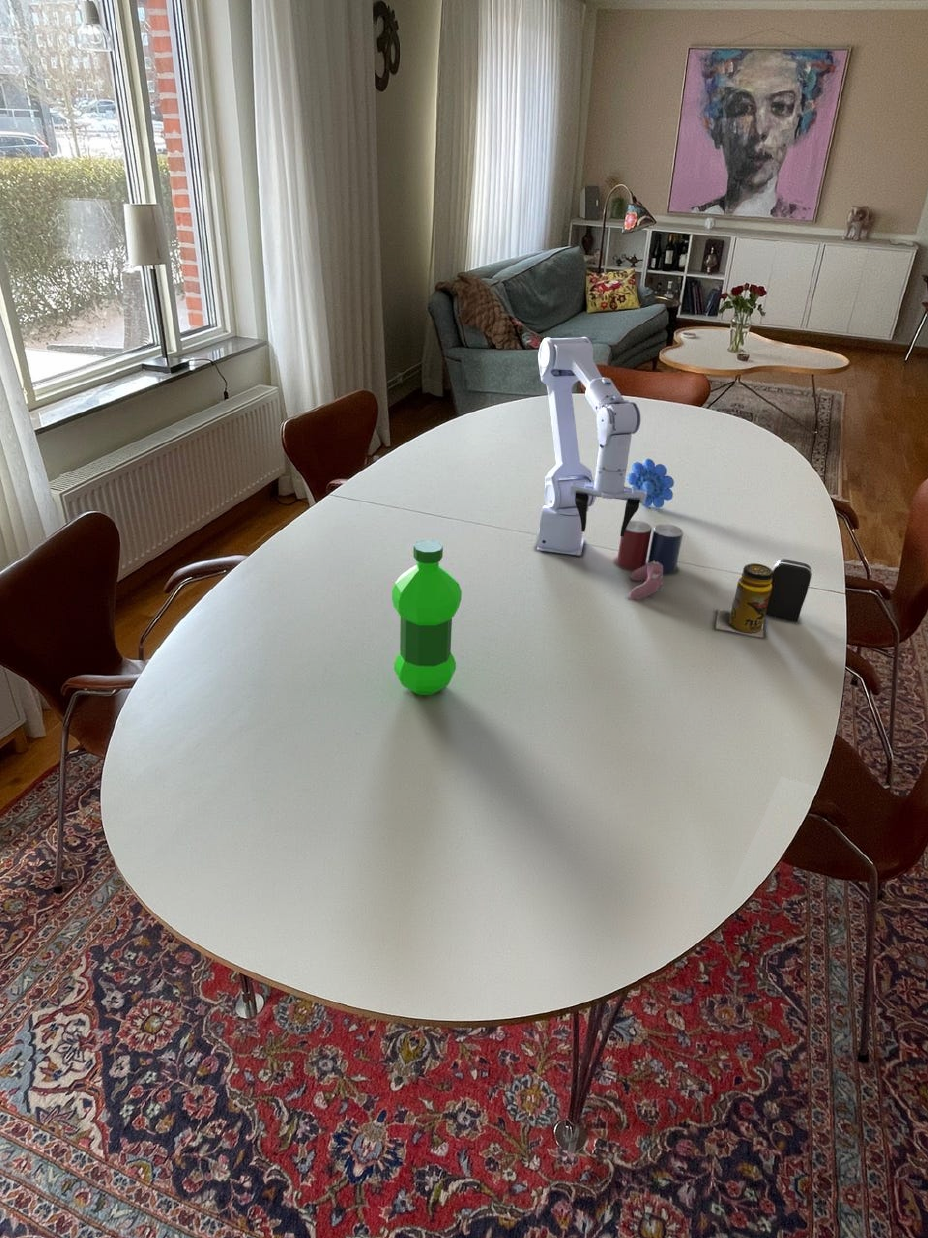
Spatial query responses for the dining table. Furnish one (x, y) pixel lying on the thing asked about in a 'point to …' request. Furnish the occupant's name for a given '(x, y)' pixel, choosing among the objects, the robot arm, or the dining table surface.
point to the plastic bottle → (426, 621)
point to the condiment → (748, 602)
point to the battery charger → (788, 589)
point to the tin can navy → (666, 547)
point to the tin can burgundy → (634, 545)
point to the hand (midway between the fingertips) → (602, 531)
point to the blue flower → (651, 482)
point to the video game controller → (647, 580)
